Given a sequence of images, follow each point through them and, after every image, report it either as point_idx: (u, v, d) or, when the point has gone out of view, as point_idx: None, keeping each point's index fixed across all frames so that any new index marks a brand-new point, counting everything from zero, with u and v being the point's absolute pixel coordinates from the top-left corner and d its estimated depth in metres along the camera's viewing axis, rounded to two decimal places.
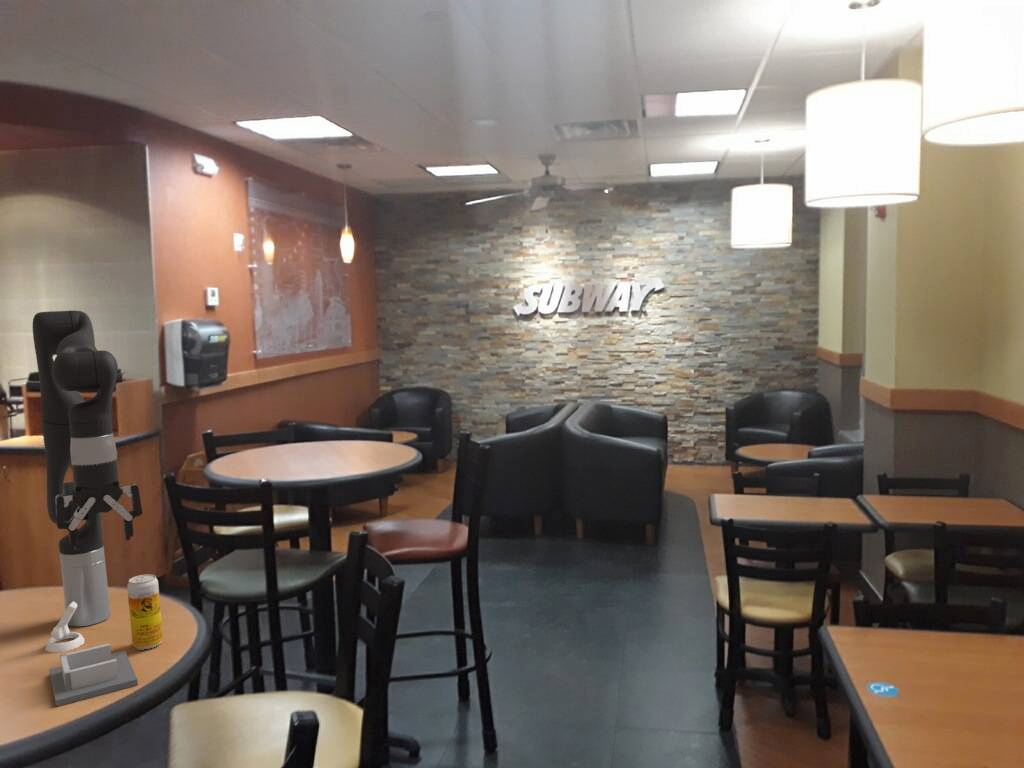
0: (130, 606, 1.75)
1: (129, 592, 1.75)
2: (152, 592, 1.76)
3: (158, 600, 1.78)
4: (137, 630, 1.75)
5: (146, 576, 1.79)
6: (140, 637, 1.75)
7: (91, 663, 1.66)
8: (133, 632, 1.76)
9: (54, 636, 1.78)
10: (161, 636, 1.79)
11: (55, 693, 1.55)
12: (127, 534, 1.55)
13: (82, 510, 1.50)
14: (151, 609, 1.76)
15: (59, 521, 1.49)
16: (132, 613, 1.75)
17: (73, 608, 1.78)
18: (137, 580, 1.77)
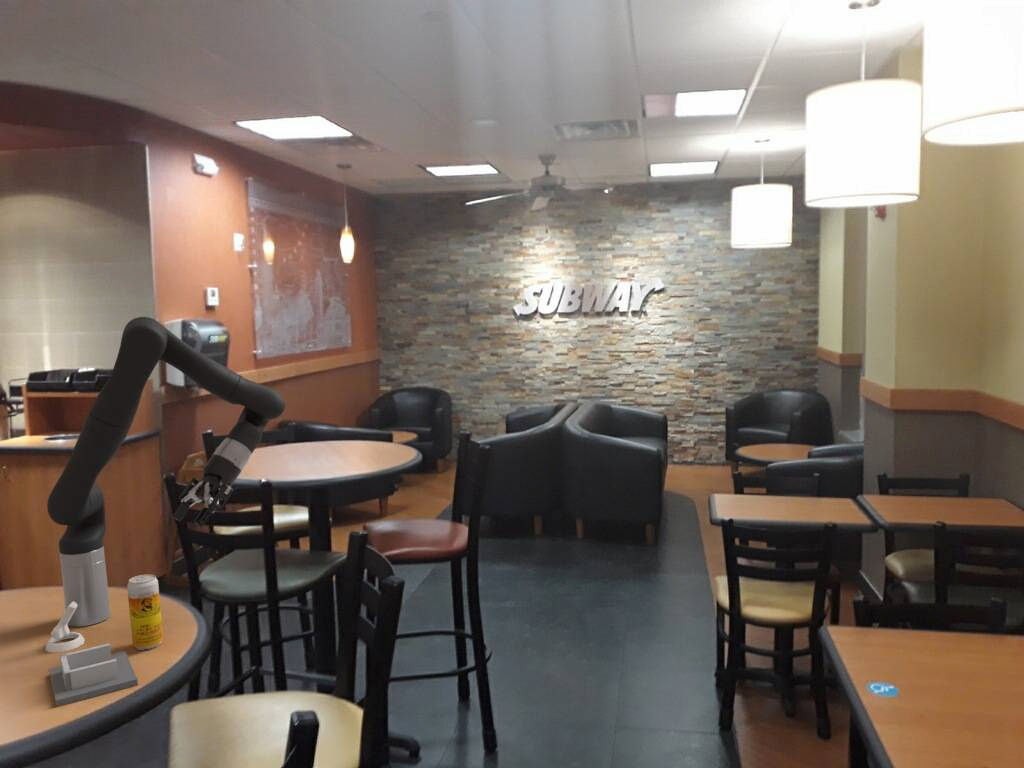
0: (130, 606, 1.75)
1: (129, 592, 1.75)
2: (152, 592, 1.76)
3: (158, 600, 1.78)
4: (137, 630, 1.75)
5: (146, 576, 1.79)
6: (140, 637, 1.75)
7: (91, 663, 1.66)
8: (133, 632, 1.76)
9: (54, 636, 1.78)
10: (161, 636, 1.79)
11: (55, 693, 1.55)
12: None
13: (218, 499, 1.88)
14: (151, 609, 1.76)
15: None
16: (132, 613, 1.75)
17: (73, 608, 1.78)
18: (137, 580, 1.77)
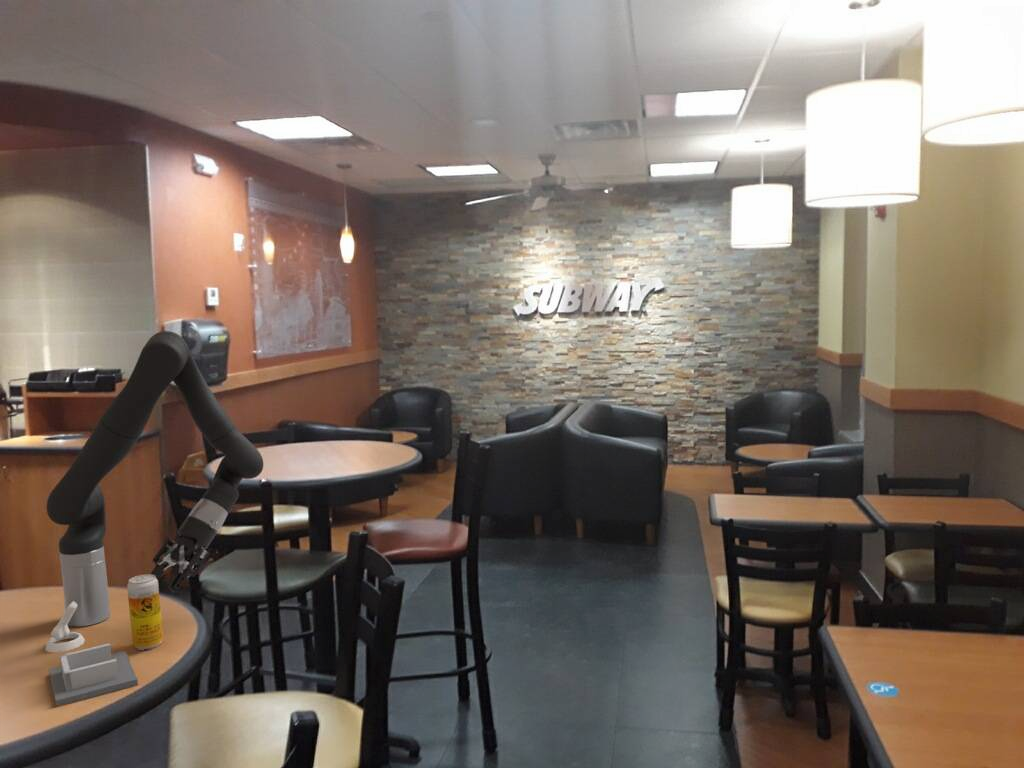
0: (130, 606, 1.75)
1: (129, 592, 1.75)
2: (152, 592, 1.76)
3: (158, 600, 1.78)
4: (137, 630, 1.75)
5: (146, 576, 1.79)
6: (140, 637, 1.75)
7: (91, 663, 1.66)
8: (133, 632, 1.76)
9: (54, 636, 1.78)
10: (161, 636, 1.79)
11: (55, 693, 1.55)
12: None
13: None
14: (151, 609, 1.76)
15: None
16: (132, 613, 1.75)
17: (73, 608, 1.78)
18: (137, 580, 1.77)
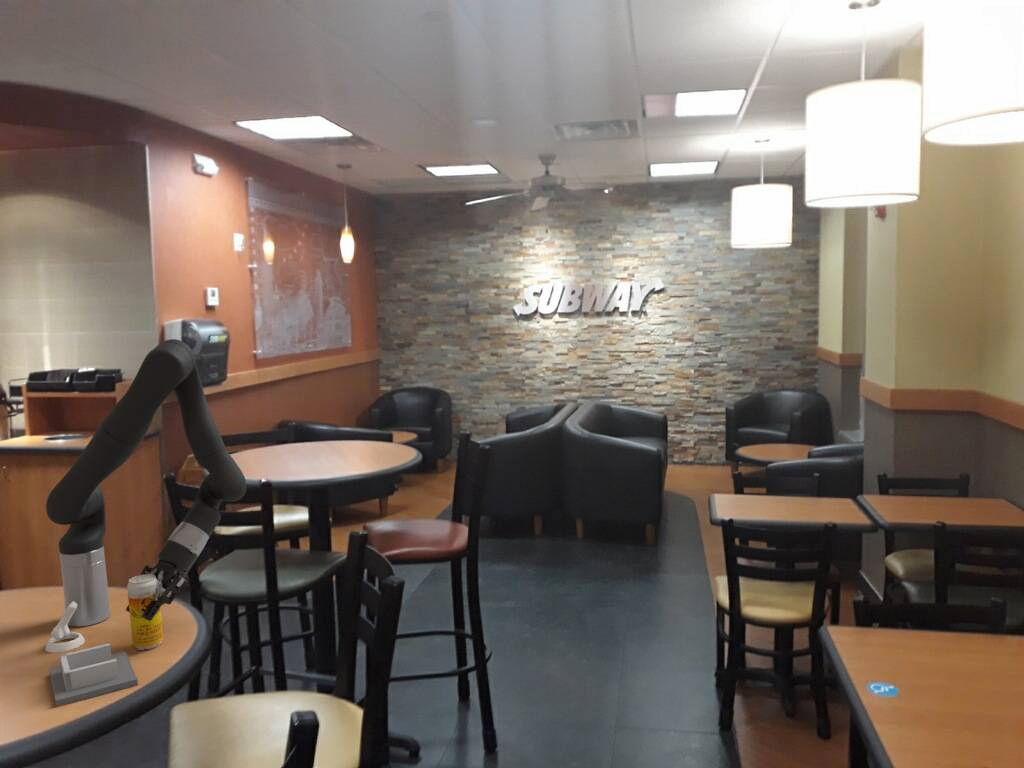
0: (130, 606, 1.75)
1: (129, 592, 1.75)
2: (151, 592, 1.76)
3: None
4: (137, 630, 1.75)
5: (146, 576, 1.79)
6: (140, 637, 1.75)
7: (91, 663, 1.66)
8: (133, 632, 1.76)
9: (54, 636, 1.78)
10: (161, 636, 1.79)
11: (55, 693, 1.55)
12: None
13: None
14: None
15: None
16: (132, 613, 1.75)
17: (73, 608, 1.78)
18: (137, 580, 1.77)
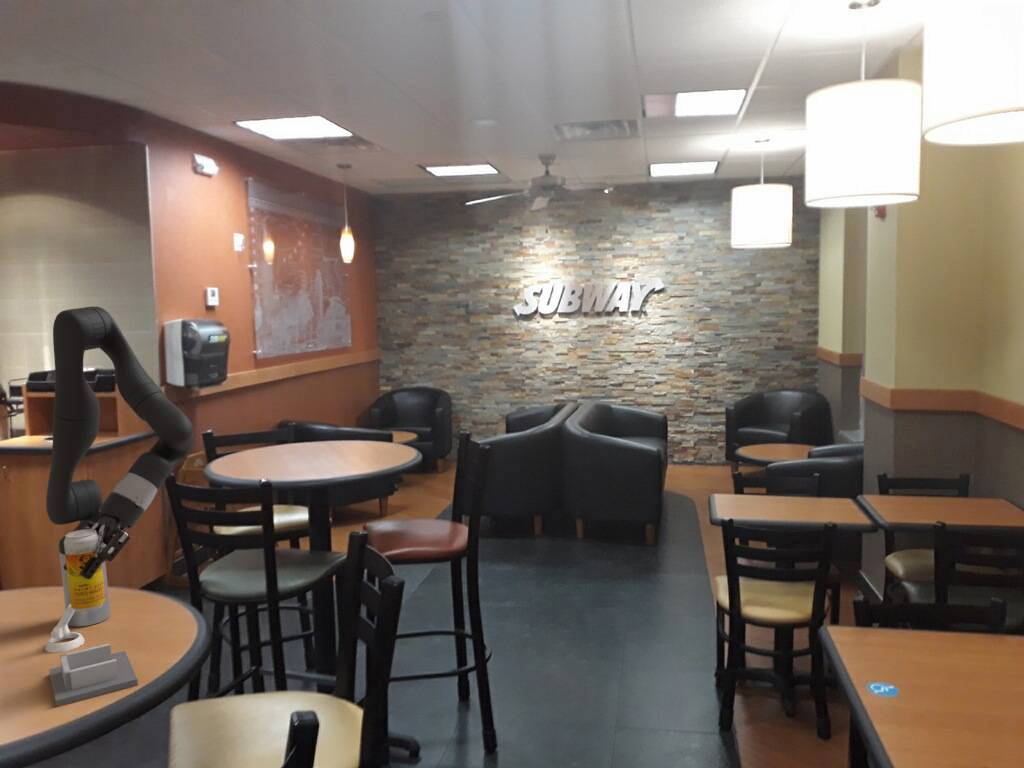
0: (67, 563, 1.58)
1: (66, 548, 1.58)
2: (91, 548, 1.59)
3: None
4: (75, 590, 1.58)
5: (86, 531, 1.62)
6: (78, 597, 1.59)
7: (91, 663, 1.66)
8: (71, 592, 1.59)
9: (54, 636, 1.78)
10: (103, 597, 1.62)
11: (55, 693, 1.55)
12: None
13: None
14: None
15: None
16: (70, 571, 1.58)
17: None
18: (75, 535, 1.60)
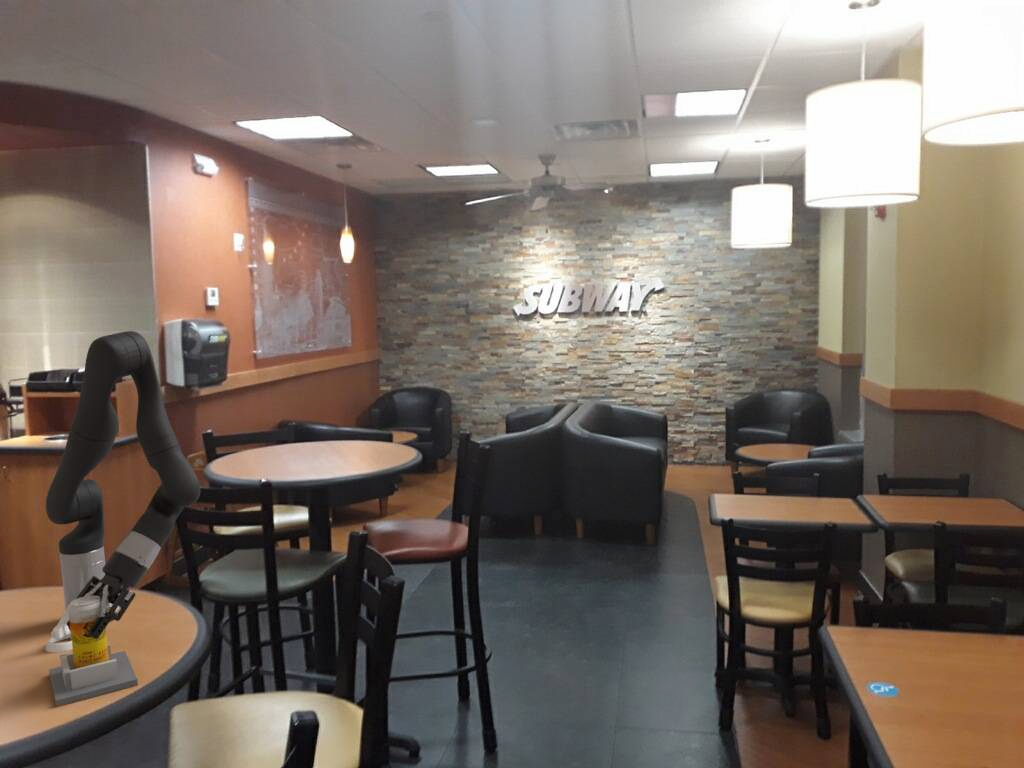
0: (71, 631, 1.60)
1: (70, 616, 1.59)
2: (95, 616, 1.60)
3: None
4: (79, 658, 1.60)
5: (90, 598, 1.63)
6: (83, 665, 1.60)
7: None
8: (75, 660, 1.60)
9: (54, 636, 1.78)
10: None
11: (55, 693, 1.55)
12: None
13: None
14: None
15: None
16: (74, 639, 1.60)
17: None
18: (79, 602, 1.61)
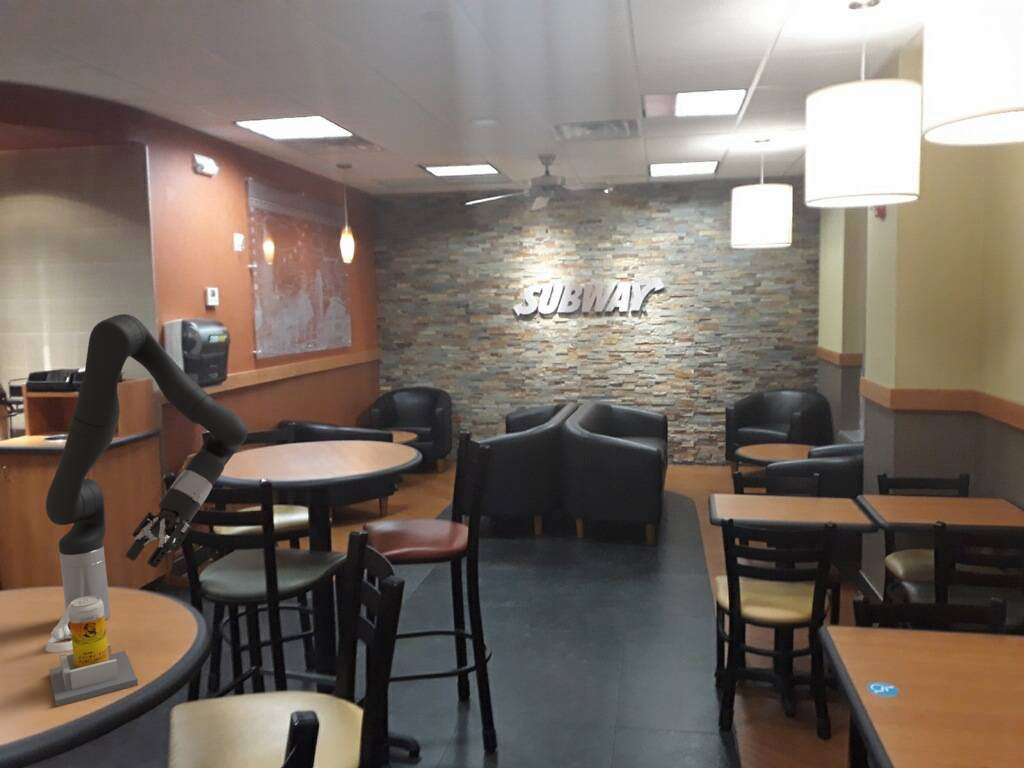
0: (72, 631, 1.60)
1: (70, 616, 1.59)
2: (95, 616, 1.60)
3: (103, 624, 1.62)
4: (80, 658, 1.60)
5: (90, 598, 1.63)
6: (83, 665, 1.60)
7: None
8: (75, 660, 1.60)
9: (54, 636, 1.78)
10: None
11: (55, 693, 1.55)
12: None
13: (174, 537, 1.73)
14: (95, 634, 1.60)
15: None
16: (74, 639, 1.60)
17: None
18: (80, 603, 1.61)
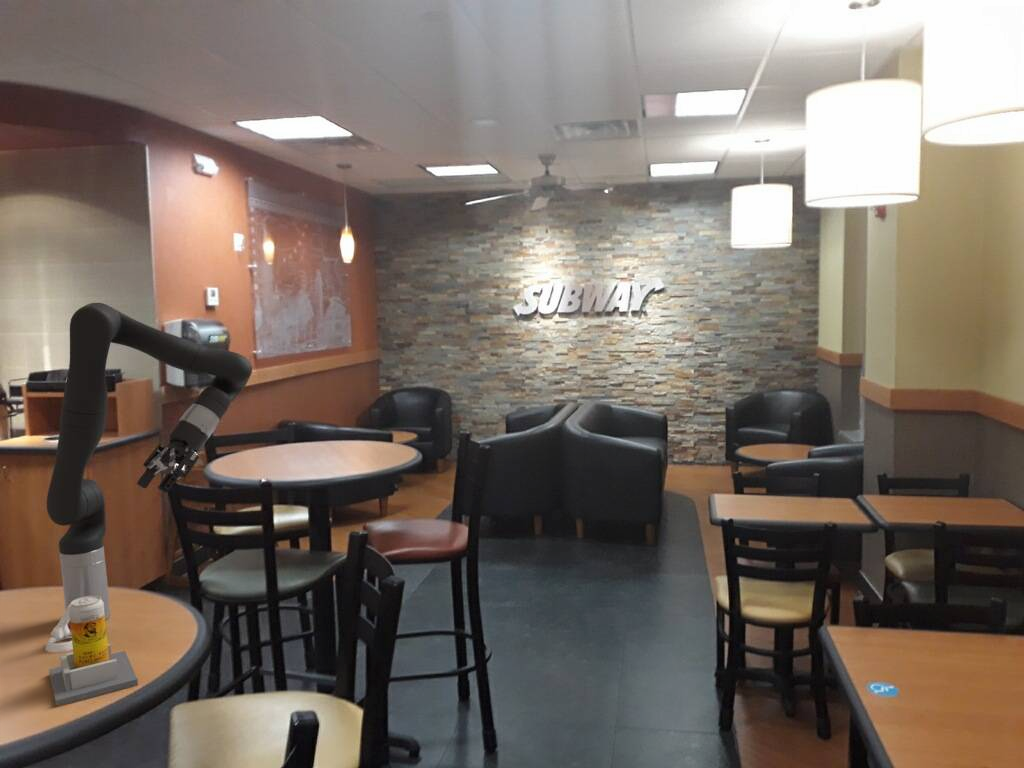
0: (72, 631, 1.60)
1: (71, 616, 1.59)
2: (96, 616, 1.60)
3: (103, 624, 1.62)
4: (80, 658, 1.60)
5: (91, 598, 1.64)
6: (83, 665, 1.60)
7: None
8: (75, 659, 1.60)
9: (54, 636, 1.78)
10: None
11: (55, 693, 1.55)
12: None
13: (183, 466, 1.82)
14: (95, 634, 1.60)
15: None
16: (74, 639, 1.60)
17: None
18: (80, 602, 1.61)
